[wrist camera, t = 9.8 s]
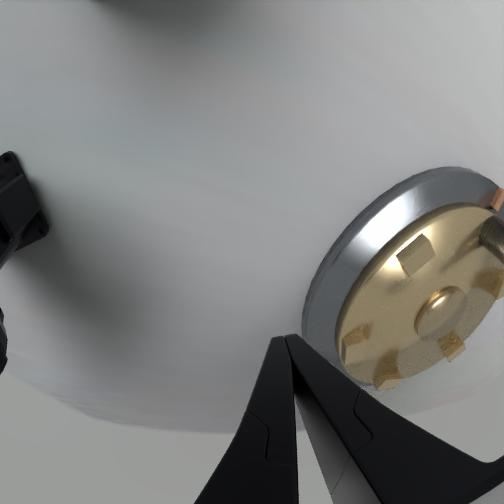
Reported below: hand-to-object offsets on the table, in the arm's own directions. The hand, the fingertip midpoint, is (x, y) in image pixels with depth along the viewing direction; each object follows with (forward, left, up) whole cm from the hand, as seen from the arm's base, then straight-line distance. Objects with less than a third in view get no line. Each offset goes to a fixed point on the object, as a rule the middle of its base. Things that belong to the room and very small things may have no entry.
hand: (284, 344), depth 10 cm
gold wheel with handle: (+15, -15, -10) cm, 23 cm away
